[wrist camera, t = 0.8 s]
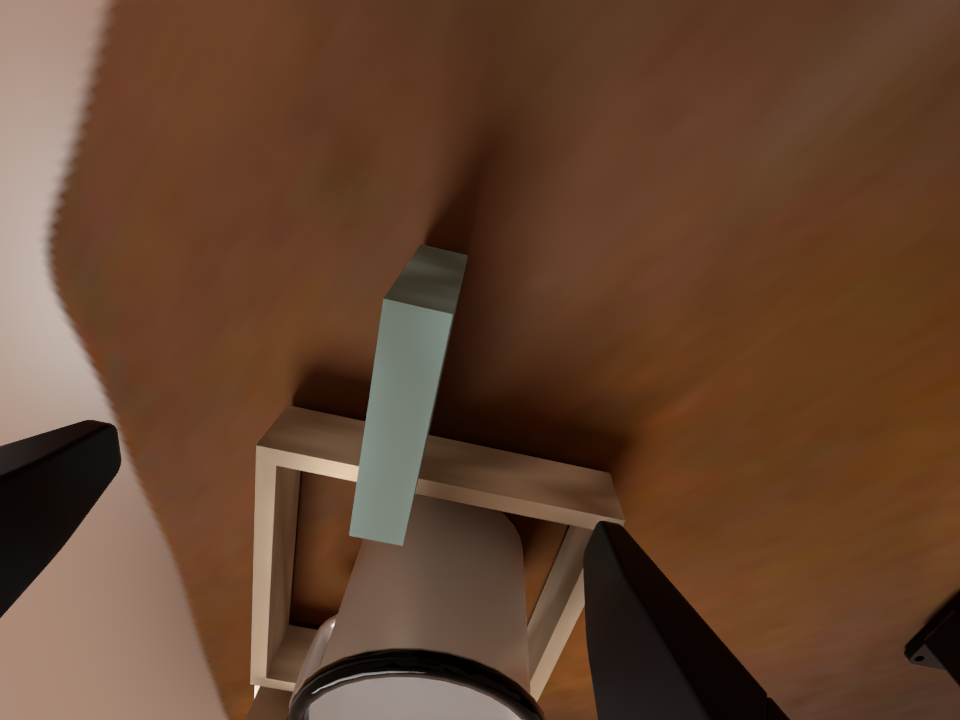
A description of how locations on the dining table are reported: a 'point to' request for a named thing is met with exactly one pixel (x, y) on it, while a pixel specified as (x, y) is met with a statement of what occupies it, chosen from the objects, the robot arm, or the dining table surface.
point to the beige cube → (270, 704)
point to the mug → (427, 626)
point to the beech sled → (411, 477)
